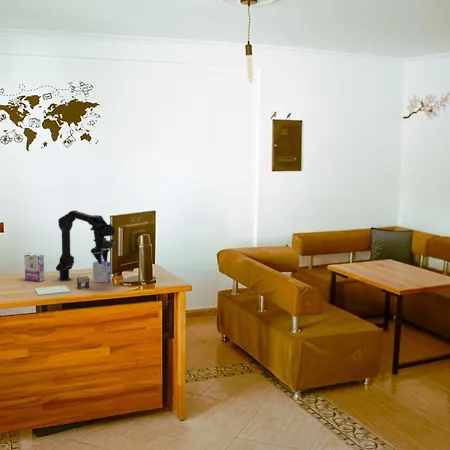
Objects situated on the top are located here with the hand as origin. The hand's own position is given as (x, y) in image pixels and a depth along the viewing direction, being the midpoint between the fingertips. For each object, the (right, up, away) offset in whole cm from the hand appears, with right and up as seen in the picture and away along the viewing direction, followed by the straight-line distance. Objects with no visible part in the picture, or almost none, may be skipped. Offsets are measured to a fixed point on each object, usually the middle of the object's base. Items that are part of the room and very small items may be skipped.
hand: (103, 262), depth 351 cm
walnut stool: (-12, -15, -1) cm, 19 cm away
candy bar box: (-45, -12, +15) cm, 49 cm away
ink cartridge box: (-4, -13, +14) cm, 20 cm away
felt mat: (-28, -16, -9) cm, 33 cm away
